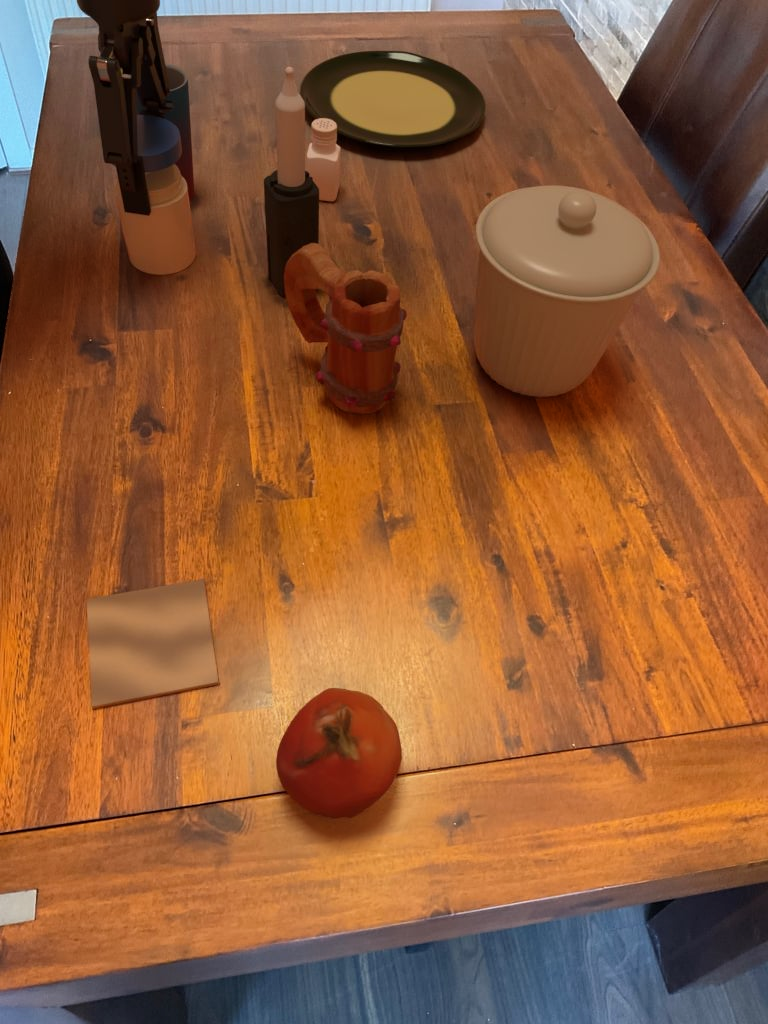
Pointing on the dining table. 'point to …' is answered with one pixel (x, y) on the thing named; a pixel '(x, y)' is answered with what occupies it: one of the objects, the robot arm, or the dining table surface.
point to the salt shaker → (324, 158)
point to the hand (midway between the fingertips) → (149, 189)
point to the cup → (179, 120)
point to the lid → (157, 142)
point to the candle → (289, 187)
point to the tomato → (339, 754)
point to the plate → (393, 98)
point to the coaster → (150, 643)
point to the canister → (555, 284)
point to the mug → (348, 327)
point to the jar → (160, 225)
